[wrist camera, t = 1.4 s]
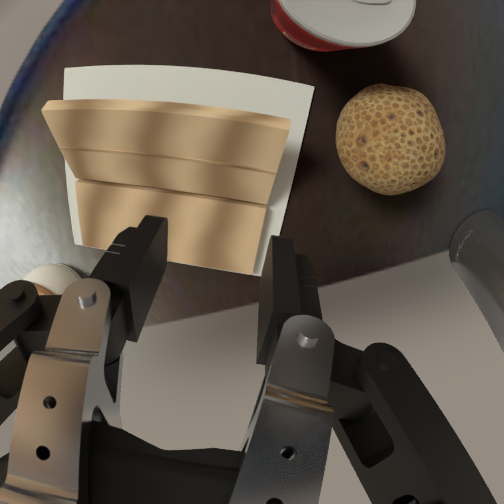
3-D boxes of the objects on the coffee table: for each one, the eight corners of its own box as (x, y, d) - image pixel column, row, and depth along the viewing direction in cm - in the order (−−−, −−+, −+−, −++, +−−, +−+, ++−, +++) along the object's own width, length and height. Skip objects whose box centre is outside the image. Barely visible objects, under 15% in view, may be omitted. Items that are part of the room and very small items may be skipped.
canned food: (370, 49, 21) (427, 48, 12) (280, 57, 23) (289, 53, 14) (353, -27, 17) (399, -66, 8) (261, -20, 18) (258, -66, 9)
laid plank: (267, 199, 30) (267, 205, 29) (252, 267, 35) (252, 274, 34) (80, 174, 29) (74, 178, 28) (87, 239, 34) (82, 245, 33)
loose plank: (290, 119, 21) (289, 130, 20) (268, 194, 30) (266, 205, 29) (48, 100, 20) (40, 111, 19) (80, 169, 29) (75, 178, 28)
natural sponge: (379, 59, 22) (432, 62, 14) (430, 134, 25) (487, 171, 17) (304, 116, 26) (322, 145, 17) (361, 186, 29) (395, 241, 21)
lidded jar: (79, 318, 43) (55, 364, 35) (29, 273, 38) (-3, 316, 30) (112, 289, 38) (85, 342, 31) (53, 235, 34) (14, 281, 26)
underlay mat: (314, 86, 24) (314, 86, 24) (268, 276, 36) (268, 277, 36) (65, 68, 23) (64, 68, 22) (75, 243, 34) (75, 243, 34)
